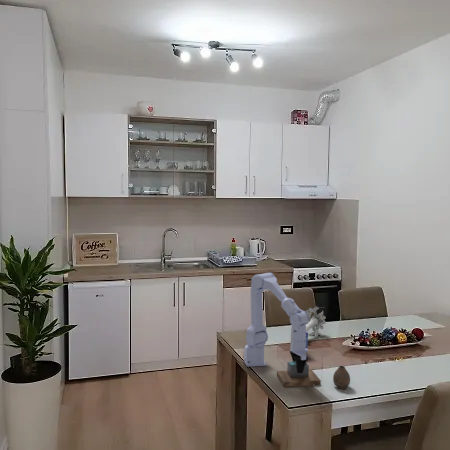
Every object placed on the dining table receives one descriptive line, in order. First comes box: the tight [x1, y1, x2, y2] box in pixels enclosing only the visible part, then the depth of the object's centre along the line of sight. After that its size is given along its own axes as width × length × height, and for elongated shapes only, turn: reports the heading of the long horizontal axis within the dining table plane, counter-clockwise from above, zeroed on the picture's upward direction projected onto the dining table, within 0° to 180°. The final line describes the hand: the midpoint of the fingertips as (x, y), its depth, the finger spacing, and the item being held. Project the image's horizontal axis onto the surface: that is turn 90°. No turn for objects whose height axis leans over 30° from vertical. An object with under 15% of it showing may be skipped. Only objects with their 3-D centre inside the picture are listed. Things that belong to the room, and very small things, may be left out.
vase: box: [332, 365, 351, 390], centre depth 187 cm, size 7×7×9 cm
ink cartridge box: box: [289, 327, 309, 358], centre depth 225 cm, size 10×6×14 cm, turn 16°
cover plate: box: [288, 360, 306, 366], centre depth 193 cm, size 4×7×2 cm, turn 97°
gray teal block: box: [286, 361, 310, 378], centre depth 193 cm, size 5×8×5 cm, turn 98°
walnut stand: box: [276, 368, 322, 388], centre depth 193 cm, size 16×12×2 cm
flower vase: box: [305, 305, 327, 338], centre depth 250 cm, size 13×18×25 cm
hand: (298, 370), depth 193 cm, fingers closed on gray teal block, 5 cm apart
